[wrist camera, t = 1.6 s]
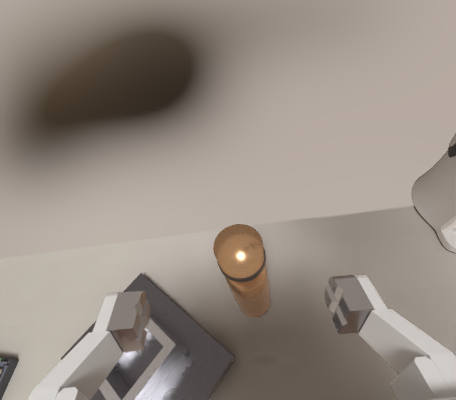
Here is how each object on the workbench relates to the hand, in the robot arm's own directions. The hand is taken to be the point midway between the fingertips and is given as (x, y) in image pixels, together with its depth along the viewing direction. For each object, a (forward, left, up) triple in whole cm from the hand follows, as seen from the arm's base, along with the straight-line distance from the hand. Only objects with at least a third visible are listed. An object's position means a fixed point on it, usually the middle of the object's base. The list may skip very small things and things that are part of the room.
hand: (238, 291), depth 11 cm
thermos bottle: (+5, -5, -25) cm, 26 cm away
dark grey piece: (+12, +9, -25) cm, 29 cm away
